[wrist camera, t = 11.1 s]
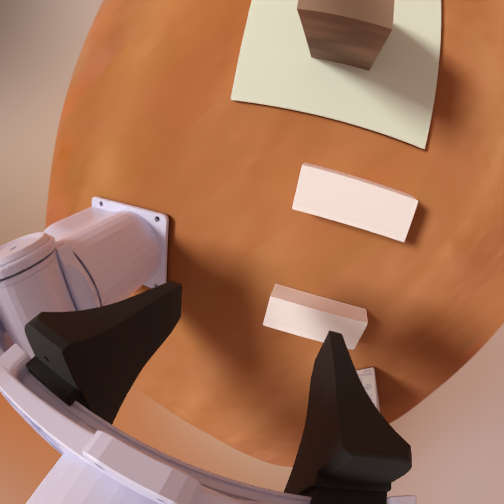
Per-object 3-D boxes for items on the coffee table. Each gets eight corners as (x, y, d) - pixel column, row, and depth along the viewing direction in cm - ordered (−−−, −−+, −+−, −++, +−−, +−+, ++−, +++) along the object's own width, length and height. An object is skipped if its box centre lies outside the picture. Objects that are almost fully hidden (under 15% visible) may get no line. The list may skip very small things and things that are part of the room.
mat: (232, 100, 18) (230, 99, 18) (264, -42, 12) (263, -44, 11) (422, 149, 16) (424, 149, 15) (439, -4, 9) (440, -6, 9)
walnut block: (311, 57, 15) (296, 8, 8) (320, 2, 13) (309, -61, 6) (369, 70, 14) (392, 29, 7) (376, 14, 12) (394, -44, 5)
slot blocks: (268, 311, 24) (262, 325, 22) (304, 162, 18) (302, 164, 17) (353, 335, 23) (353, 350, 21) (410, 194, 17) (418, 201, 15)
